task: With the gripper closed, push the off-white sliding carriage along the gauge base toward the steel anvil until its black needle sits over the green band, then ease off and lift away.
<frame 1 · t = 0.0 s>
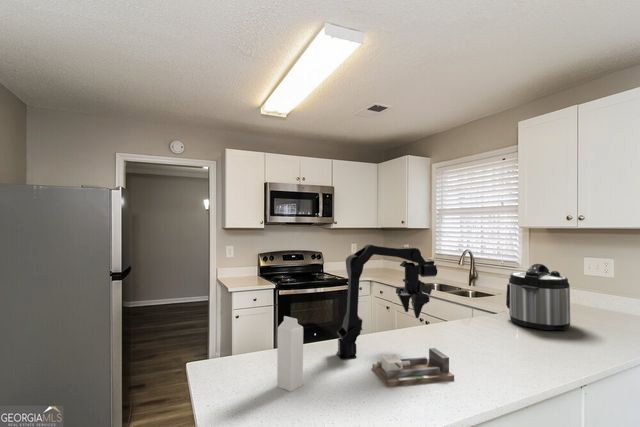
hand: (411, 314, 140), 15 cm above the countertop, tool pointing down, fingers open, 9 cm apart
gauge base: (411, 373, 118), on the countertop
milk: (290, 386, 109), on the countertop
carriage: (399, 366, 115), point 4 cm above the countertop, slide at 0.0 cm
pressure cooker: (537, 324, 177), on the countertop
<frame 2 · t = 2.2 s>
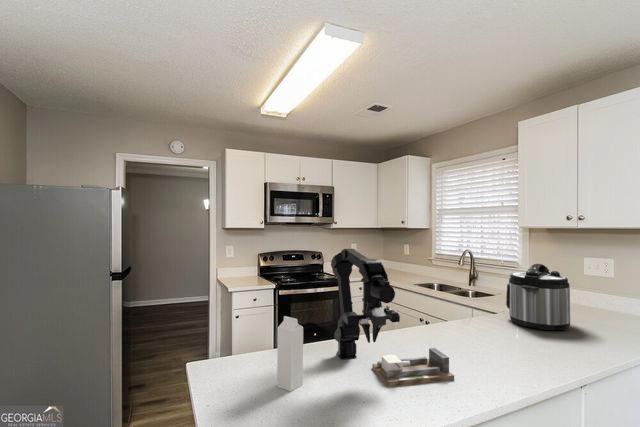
hand: (371, 342, 115), 12 cm above the countertop, tool pointing down, fingers closed
nothing on the countertop moved.
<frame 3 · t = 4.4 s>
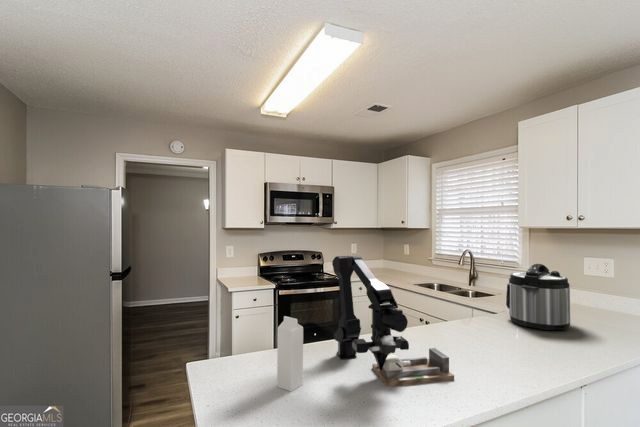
hand: (380, 369, 115), 3 cm above the countertop, tool pointing down, fingers closed
carriage: (399, 366, 115), point 4 cm above the countertop, slide at 0.2 cm, touching gripper
everything else where it was.
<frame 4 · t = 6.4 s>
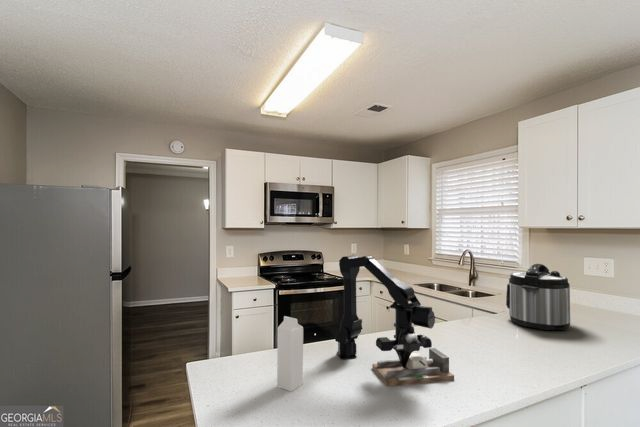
hand: (403, 367, 117), 3 cm above the countertop, tool pointing down, fingers closed
carriage: (422, 364, 117), point 4 cm above the countertop, slide at 8.9 cm, touching gripper
everything else where it was.
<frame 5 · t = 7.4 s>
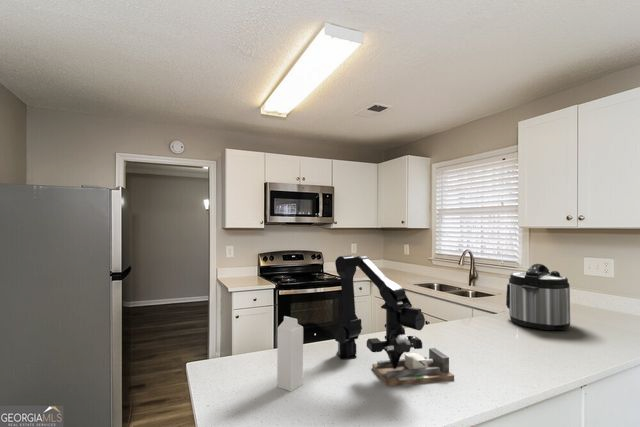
hand: (394, 368, 117), 2 cm above the countertop, tool pointing down, fingers closed
carriage: (422, 364, 117), point 4 cm above the countertop, slide at 8.9 cm
everything else where it was.
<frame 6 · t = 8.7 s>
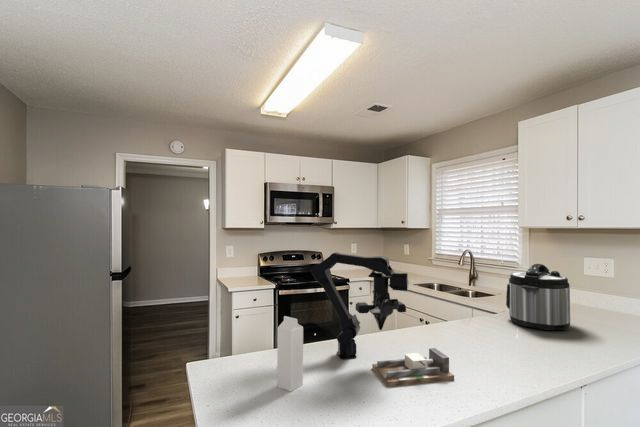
hand: (380, 329, 129), 12 cm above the countertop, tool pointing down, fingers closed
nothing on the countertop moved.
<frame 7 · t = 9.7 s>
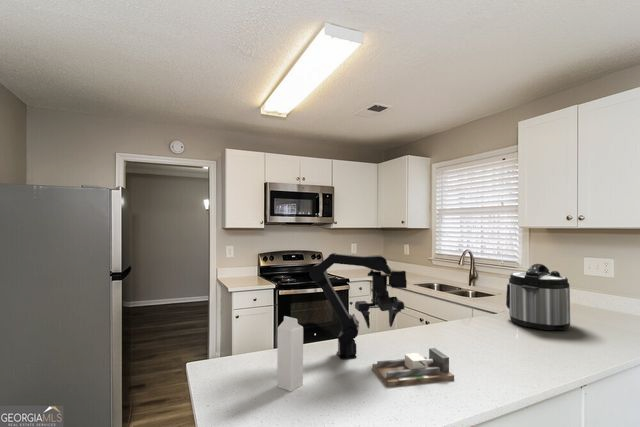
hand: (379, 327, 132), 12 cm above the countertop, tool pointing down, fingers open, 9 cm apart
nothing on the countertop moved.
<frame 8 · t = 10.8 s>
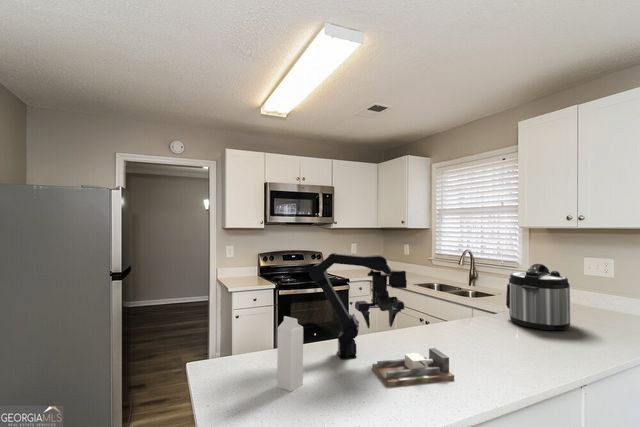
hand: (379, 327, 132), 12 cm above the countertop, tool pointing down, fingers open, 9 cm apart
nothing on the countertop moved.
at the end: carriage slide at 8.9 cm; milk tilted 0° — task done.
